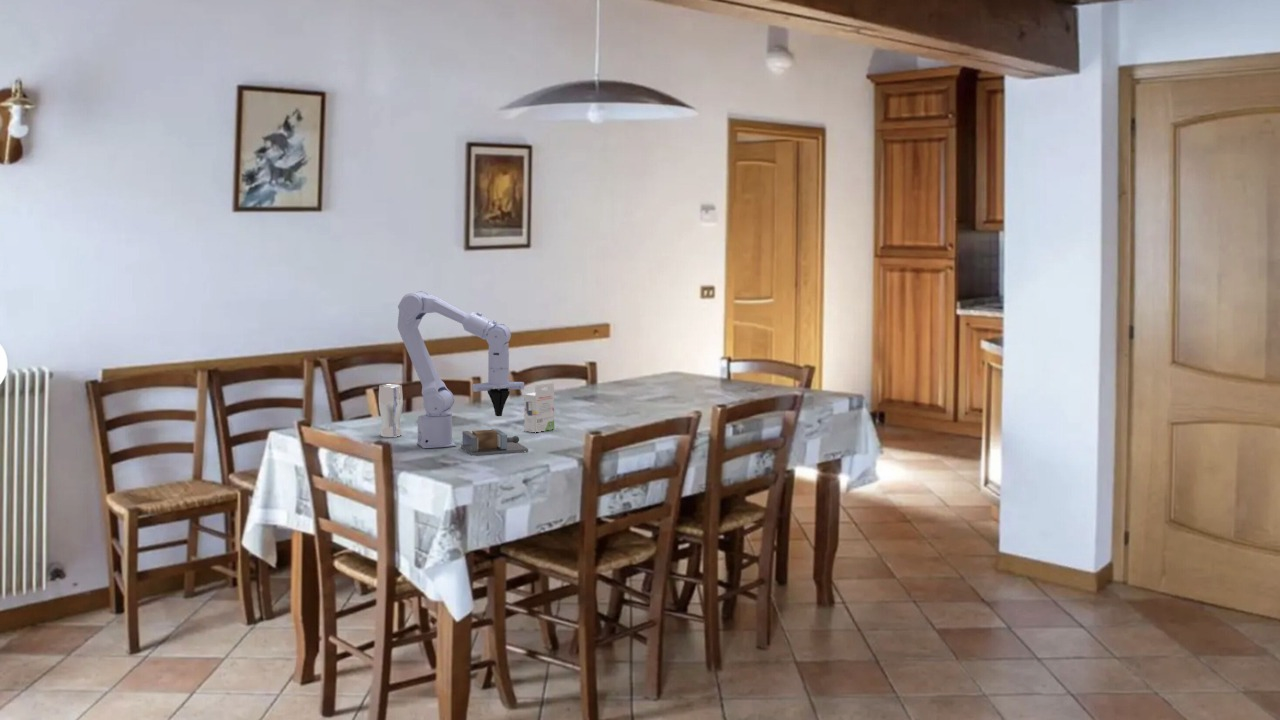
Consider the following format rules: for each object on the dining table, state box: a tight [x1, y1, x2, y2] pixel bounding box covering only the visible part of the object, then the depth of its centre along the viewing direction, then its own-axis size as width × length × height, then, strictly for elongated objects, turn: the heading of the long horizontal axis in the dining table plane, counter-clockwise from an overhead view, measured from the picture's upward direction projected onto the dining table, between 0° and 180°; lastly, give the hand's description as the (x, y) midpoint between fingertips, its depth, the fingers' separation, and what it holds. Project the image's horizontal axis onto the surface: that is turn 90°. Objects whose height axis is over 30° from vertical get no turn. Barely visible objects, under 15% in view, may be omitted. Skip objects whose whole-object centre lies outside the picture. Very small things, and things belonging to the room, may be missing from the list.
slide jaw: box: [490, 427, 520, 449], centre depth 321 cm, size 6×10×4 cm, turn 24°
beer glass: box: [378, 383, 404, 438], centre depth 336 cm, size 7×7×15 cm
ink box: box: [523, 382, 555, 434], centre depth 348 cm, size 9×5×15 cm, turn 141°
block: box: [471, 429, 497, 449], centre depth 318 cm, size 6×4×4 cm, turn 114°
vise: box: [460, 430, 529, 456], centre depth 319 cm, size 16×12×5 cm
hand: (498, 415), depth 321 cm, fingers closed
